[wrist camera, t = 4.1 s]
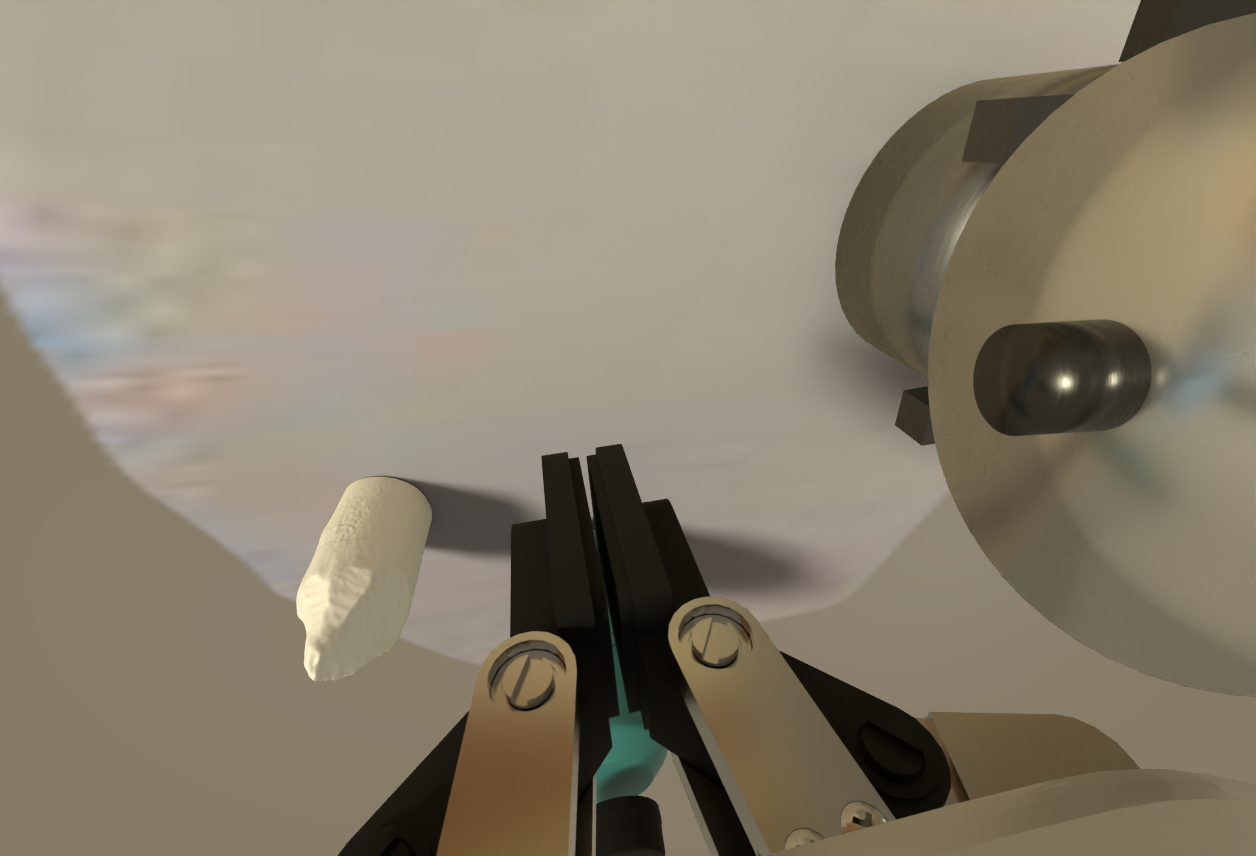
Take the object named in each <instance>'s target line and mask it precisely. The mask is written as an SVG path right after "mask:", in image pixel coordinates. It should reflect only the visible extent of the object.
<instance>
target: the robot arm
mask: <svg viewBox="0 0 1256 856" xmlns="http://www.w3.org/2000/svg"><path fill="white" fill-rule="evenodd" d="M587 464H588V473H589V482H590V490H591V499H592V507H593V516H594V524H595V533H596V541H597V547H596V542H595V537H594V532H593V527H592V522H591V517H590V512H589V507H588V502H587V497H586V492H585V487H584V481H583V476H582V471H581V466H580V461H579V457H577V458H570V459H569V458H568V453H567V452H564V453H557V454H551V455H544V456H542V469H543V481H544V494H545V506H546V518H547V519H543V520H537V521H531V522H526V523H520V524H514V525H512V530H511V622H510V638H509V639H507V640H505V641H503V642H502V643H501V644H500V645H499V646H497V647H496V648H495V649H494V650H492V652H491V653H490V654H489V656H488V657H487V658H486V660H485V661H484V662H483V664H482V666H481V669H480V672H479V674H478V676H477V680H476V684H475V689H474V693H473V697H472V702H471V706H470V710H469V711H468V712H467V714H466V715H465V716H464V717H463V718H462V719H461V720H460V721H459V722H458V723H457V724H456V725H455V727H454V728H453V729H452V730H451V731H450V732H449V733H448V734H447V735H446V737H444V739H443V740H442V741H441V742H440V743H439V744H438V745H437V746H436V747H435V748H434V749H433V750H432V752H431V753H430V754H429V755H428V756H427V757H426V758H425V759H424V760H423V761H422V762H421V764H420V765H419V766H418V767H417V768H416V769H415V770H414V771H413V772H412V773H411V774H410V775H409V777H408V778H407V779H406V780H405V781H404V782H403V783H402V784H401V785H400V786H399V787H398V788H397V790H396V791H395V792H394V793H393V794H392V795H391V796H390V797H389V798H388V799H387V800H386V802H385V803H384V804H383V805H382V806H381V807H380V808H379V809H378V810H377V811H376V812H375V813H374V815H373V816H372V817H371V818H370V819H369V820H368V821H367V822H366V823H365V824H364V825H363V826H362V828H361V829H360V830H359V831H358V832H357V833H356V834H355V835H354V836H353V838H351V839H350V841H349V842H348V843H347V844H346V846H345V847H344V848H343V849H342V851H341V852H340V853H339V855H338V856H596V775H595V773H596V772H597V770H598V769H599V767H600V766H601V764H602V763H603V761H604V760H605V758H606V756H607V755H608V753H609V752H610V750H611V749H612V747H613V746H612V738H611V731H610V723H609V718H612V717H616V716H620V712H619V703H618V694H617V685H616V676H615V667H614V658H613V649H612V640H611V631H610V622H609V614H610V619H611V624H612V629H613V635H614V640H615V645H616V650H617V655H618V660H619V665H620V670H621V675H622V680H623V685H624V690H625V696H626V701H627V706H628V710H629V714H630V713H634V712H639V711H640V713H641V717H642V722H643V726H644V730H647V729H649V734H650V738H651V739H653V740H654V741H656V742H657V743H659V744H660V745H662V746H663V747H665V748H666V749H668V750H669V751H671V754H672V758H673V762H674V765H675V767H676V770H677V772H678V775H679V777H680V780H681V782H682V785H683V787H684V790H685V792H686V795H687V797H688V800H689V802H690V804H691V807H692V810H693V812H694V815H695V817H696V820H697V822H698V825H699V827H700V830H701V832H702V835H703V837H704V840H705V842H706V844H707V847H708V849H709V852H710V854H711V856H1256V785H1254V784H1250V783H1246V782H1241V781H1237V780H1232V779H1228V778H1223V777H1219V776H1214V775H1209V774H1202V773H1194V772H1186V771H1178V770H1168V769H1140V768H1139V767H1138V766H1137V764H1136V763H1135V762H1134V760H1133V759H1132V758H1131V757H1130V756H1129V755H1128V754H1127V753H1126V752H1125V751H1124V750H1123V749H1122V748H1121V746H1120V745H1119V744H1118V743H1117V742H1115V741H1114V740H1113V739H1111V738H1110V737H1108V736H1107V735H1106V734H1104V733H1103V732H1101V731H1100V730H1099V729H1097V728H1096V727H1093V726H1091V725H1089V724H1087V723H1085V722H1083V721H1080V720H1078V719H1076V718H1072V717H1067V716H1061V715H1056V714H1011V713H962V712H961V713H960V712H929V714H928V716H927V718H914V717H912V716H910V715H909V714H907V713H905V712H904V711H902V710H901V709H899V708H897V707H895V706H893V705H891V704H889V703H887V702H884V701H882V700H880V699H878V698H876V697H874V696H872V695H870V694H868V693H866V692H864V691H862V690H860V689H858V688H856V687H853V686H851V685H849V684H847V683H845V682H843V681H841V680H839V679H837V678H835V677H833V676H831V675H828V674H827V673H824V672H822V671H820V670H818V669H816V668H814V667H812V666H810V665H808V664H806V663H804V662H802V661H800V660H798V659H795V658H793V657H791V656H789V655H787V654H785V653H783V652H781V651H779V650H778V649H777V648H776V646H775V645H774V643H773V642H772V641H771V639H770V638H769V636H768V635H767V633H766V632H765V631H764V629H763V628H762V626H761V625H760V623H759V622H758V620H757V619H756V618H755V617H754V616H753V615H752V614H751V613H750V612H749V611H748V609H746V608H744V607H743V606H741V605H740V604H738V603H736V602H734V601H731V600H728V599H725V598H722V597H710V595H709V593H708V590H707V588H706V585H705V583H704V581H703V578H702V576H701V574H700V571H699V569H698V566H697V564H696V562H695V559H694V557H693V555H692V552H691V550H690V547H689V545H688V543H687V540H686V538H685V536H684V533H683V531H682V528H681V526H680V524H679V521H678V519H677V517H676V514H675V512H674V510H673V507H672V505H671V503H670V501H669V500H668V499H662V500H656V501H650V502H644V503H642V502H641V499H640V496H639V493H638V490H637V487H636V484H635V481H634V478H633V475H632V472H631V470H630V467H629V464H628V461H627V458H626V455H625V452H624V449H623V446H622V444H617V445H610V446H604V447H597V448H596V455H590V456H587ZM597 550H598V553H597ZM598 557H599V558H598ZM606 599H607V600H606ZM607 604H608V606H607ZM608 609H609V614H608Z"/></svg>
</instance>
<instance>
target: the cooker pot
mask: <svg viewBox="0 0 1256 856" xmlns="http://www.w3.org/2000/svg"><path fill="white" fill-rule="evenodd" d="M1253 13H1256V0H1141V2H1140V4H1139V7H1138V10H1137V13H1136V15H1135V18H1134V21H1133V24H1132V27H1131V29H1130V32H1129V35H1128V38H1127V40H1126V43H1125V46H1124V49H1123V51H1122V54H1121V57H1120V60H1119V62H1125V61H1127V60H1128V59H1130V58H1132V57H1134V56H1136V55H1138V54H1140V53H1142V52H1144V51H1146V50H1148V49H1150V48H1152V47H1153V46H1155V45H1157V44H1159V43H1161V42H1164V41H1167V40H1169V39H1172V38H1175V37H1177V36H1180V35H1182V34H1185V33H1188V32H1190V31H1193V30H1195V29H1198V28H1201V27H1203V26H1206V25H1208V24H1212V23H1217V22H1221V21H1225V20H1229V19H1233V18H1237V17H1241V16H1245V15H1249V14H1253ZM1118 65H1119V64H1118ZM1116 66H1117V65H1109V66H1100V67H1092V68H1083V69H1074V70H1066V71H1057V72H1048V73H1040V74H1031V75H1022V76H1014V77H1005V78H996V79H990V80H983V81H978V82H975V83H971V84H968V85H965V86H962V87H960V88H957V89H955V90H953V91H951V92H949V93H947V94H945V95H943V96H941V97H940V98H938V99H936V100H935V101H933V102H932V103H930V104H929V105H927V106H925V107H924V108H923V109H922V110H920V111H919V112H918V113H917V114H915V115H914V116H913V117H912V118H910V119H909V120H908V121H907V122H906V123H905V124H904V125H903V126H902V127H901V128H900V129H899V130H898V131H897V132H896V133H895V134H894V135H893V136H892V137H891V138H890V139H889V141H888V142H887V143H886V144H885V145H884V147H883V148H882V149H881V150H880V151H879V153H878V154H877V156H876V157H875V159H874V160H873V161H872V163H871V164H870V166H869V167H868V169H867V170H866V172H865V174H864V175H863V177H862V179H861V181H860V183H859V185H858V186H857V188H856V190H855V192H854V194H853V197H852V199H851V201H850V204H849V206H848V208H847V211H846V214H845V217H844V220H843V224H842V227H841V230H840V235H839V240H838V245H837V253H836V264H835V269H836V285H837V292H838V297H839V300H840V303H841V307H842V310H843V312H844V314H845V316H846V318H847V320H848V322H849V323H850V325H851V326H852V327H853V329H854V330H855V331H856V333H857V334H859V335H860V336H861V337H862V338H863V339H864V340H865V341H866V342H868V343H869V344H871V345H873V346H874V347H876V348H877V349H879V350H881V351H883V352H884V353H886V354H888V355H889V356H891V357H893V358H894V359H896V360H898V361H899V362H901V363H903V364H905V365H906V366H908V367H910V368H911V369H913V370H915V371H916V372H918V373H920V374H921V375H923V376H925V377H927V378H928V358H929V343H930V336H931V329H932V322H933V317H934V312H935V308H936V303H937V299H938V294H939V291H940V288H941V284H942V281H943V278H944V275H945V271H946V268H947V266H948V263H949V261H950V258H951V256H952V253H953V251H954V248H955V245H956V243H957V241H958V239H959V237H960V235H961V233H962V231H963V229H964V227H965V225H966V223H967V221H968V218H969V217H970V215H971V213H972V212H973V210H974V208H975V207H976V205H977V203H978V202H979V200H980V198H981V196H982V195H983V193H984V192H985V190H986V189H987V187H988V186H989V184H990V183H991V182H992V180H993V179H994V177H995V176H996V175H997V173H998V172H999V170H1000V169H1001V168H1002V166H1003V165H1004V164H1005V163H1006V161H1007V160H1008V159H1009V158H1010V157H1011V156H1012V154H1013V153H1014V152H1015V151H1016V150H1017V148H1018V147H1019V146H1020V145H1021V144H1022V143H1023V141H1024V140H1025V139H1026V138H1027V137H1028V136H1029V135H1030V134H1031V133H1032V132H1033V131H1034V130H1035V129H1036V128H1037V127H1038V126H1039V125H1040V124H1041V123H1042V122H1043V121H1045V120H1046V119H1047V118H1048V117H1049V116H1050V115H1051V114H1052V113H1053V112H1054V111H1055V110H1057V109H1058V108H1059V107H1060V106H1062V105H1063V104H1064V103H1065V102H1066V101H1068V100H1069V99H1070V98H1071V97H1073V96H1074V95H1075V94H1076V93H1077V92H1079V91H1080V90H1081V89H1082V88H1084V87H1085V86H1087V85H1089V84H1090V83H1092V82H1093V81H1095V80H1096V79H1098V78H1099V77H1101V76H1102V75H1104V74H1105V73H1107V72H1108V71H1110V70H1111V69H1113V68H1114V67H1116ZM895 425H896V426H897V427H898V428H900V429H901V430H902V431H903V432H905V433H906V434H907V435H909V436H910V437H911V438H913V439H914V440H915V441H917V442H918V443H919V444H920V445H928V444H934V443H935V440H934V435H933V429H932V423H931V417H930V407H929V396H928V387H922V388H916V389H909V390H904V392H903V396H902V400H901V404H900V408H899V412H898V416H897V419H896V423H895Z"/></svg>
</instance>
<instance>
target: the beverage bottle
mask: <svg viewBox="0 0 1256 856" xmlns="http://www.w3.org/2000/svg"><path fill="white" fill-rule="evenodd" d="M593 532H594V537H595V542H596V547H597V541H596V533H595V529H593ZM597 553H598V550H597ZM598 558H599V557H598ZM606 600H607V599H606ZM607 606H608V604H607ZM608 614H609V609H608ZM609 622H610V631H611V640H612V649H613V658H614V667H615V676H616V685H617V694H618V703H619V712H620V716H616V717H612V718H609V723H610V731H611V738H612V746H613V747H612V749H611V750H610V752H609V753H608V755H607V756H606V758H605V760H604V761H603V763H602V764H601V766H600V767H599V769H598V770H597V772H596V773H595V775H596V856H665V848H664V841H663V835H662V828H661V824H662V823H661V815H660V811H659V806H658V804H657V803H656V802H655V801H654V800H652V799H650V798H648V797H643V796H638V795H639V794H641V793H642V792H643V791H645V790H646V789H647V788H648V786H649V785H650V784H651V783H652V781H653V780H654V778H655V776H656V775H657V773H658V771H659V770H660V768H661V766H662V764H663V763H664V760H665V758H666V755H667V750H668V749H666V748H665V747H663V746H662V745H660V744H659V743H657V742H656V741H654V740H653V739H651V738H650V734H649V729H647V730H644V726H643V722H642V717H641V713H640V711H639V712H634V713H630V714H629V710H628V706H627V701H626V696H625V690H624V685H623V680H622V675H621V670H620V665H619V660H618V655H617V650H616V645H615V640H614V635H613V629H612V624H611V619H610V614H609Z"/></svg>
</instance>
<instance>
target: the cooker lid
mask: <svg viewBox="0 0 1256 856" xmlns="http://www.w3.org/2000/svg"><path fill="white" fill-rule="evenodd" d="M928 396H929V407H930V417H931V423H932V429H933V435H934V440H935V444H936V448H937V452H938V456H939V460H940V464H941V467H942V470H943V473H944V476H945V479H946V482H947V485H948V487H949V489H950V492H951V494H952V496H953V499H954V501H955V503H956V506H957V508H958V510H959V512H960V514H961V516H962V517H963V519H964V521H965V523H966V525H967V527H968V529H969V531H970V532H971V534H972V535H973V537H974V538H975V540H976V542H977V543H978V545H979V546H980V547H981V549H982V551H983V552H984V554H985V555H986V556H987V558H988V559H989V560H990V561H991V563H992V564H993V565H994V567H995V568H996V569H997V570H998V572H999V573H1000V574H1001V575H1002V577H1003V578H1004V579H1005V580H1006V581H1007V582H1008V583H1009V584H1010V585H1011V586H1012V587H1013V588H1014V589H1015V591H1016V592H1017V593H1018V594H1019V595H1020V596H1021V597H1022V598H1023V599H1024V600H1025V601H1027V602H1028V603H1029V604H1030V605H1031V606H1032V607H1033V608H1034V609H1036V610H1037V611H1038V612H1039V613H1040V614H1041V615H1042V616H1044V617H1045V618H1046V619H1047V620H1049V621H1050V622H1051V623H1053V624H1054V625H1056V626H1057V627H1058V628H1060V629H1061V630H1063V631H1064V632H1065V633H1067V634H1068V635H1069V636H1071V637H1072V638H1074V639H1075V640H1077V641H1079V642H1081V643H1082V644H1084V645H1086V646H1088V647H1089V648H1091V649H1093V650H1094V651H1096V652H1098V653H1100V654H1101V655H1103V656H1105V657H1107V658H1109V659H1111V660H1114V661H1116V662H1118V663H1120V664H1123V665H1125V666H1127V667H1130V668H1132V669H1134V670H1137V671H1139V672H1141V673H1144V674H1146V675H1149V676H1153V677H1156V678H1159V679H1162V680H1166V681H1169V682H1172V683H1176V684H1179V685H1182V686H1185V687H1190V688H1195V689H1201V690H1206V691H1212V692H1217V693H1223V694H1228V695H1234V696H1249V697H1256V13H1253V14H1249V15H1245V16H1241V17H1237V18H1233V19H1229V20H1225V21H1221V22H1217V23H1212V24H1208V25H1206V26H1203V27H1201V28H1198V29H1195V30H1193V31H1190V32H1188V33H1185V34H1182V35H1180V36H1177V37H1175V38H1172V39H1169V40H1167V41H1164V42H1161V43H1159V44H1157V45H1155V46H1153V47H1152V48H1150V49H1148V50H1146V51H1144V52H1142V53H1140V54H1138V55H1136V56H1134V57H1132V58H1130V59H1128V60H1127V61H1125V62H1123V63H1121V64H1119V65H1117V66H1116V67H1114V68H1113V69H1111V70H1110V71H1108V72H1107V73H1105V74H1104V75H1102V76H1101V77H1099V78H1098V79H1096V80H1095V81H1093V82H1092V83H1090V84H1089V85H1087V86H1085V87H1084V88H1082V89H1081V90H1080V91H1079V92H1077V93H1076V94H1075V95H1074V96H1073V97H1071V98H1070V99H1069V100H1068V101H1066V102H1065V103H1064V104H1063V105H1062V106H1060V107H1059V108H1058V109H1057V110H1055V111H1054V112H1053V113H1052V114H1051V115H1050V116H1049V117H1048V118H1047V119H1046V120H1045V121H1043V122H1042V123H1041V124H1040V125H1039V126H1038V127H1037V128H1036V129H1035V130H1034V131H1033V132H1032V133H1031V134H1030V135H1029V136H1028V137H1027V138H1026V139H1025V140H1024V141H1023V143H1022V144H1021V145H1020V146H1019V147H1018V148H1017V150H1016V151H1015V152H1014V153H1013V154H1012V156H1011V157H1010V158H1009V159H1008V160H1007V161H1006V163H1005V164H1004V165H1003V166H1002V168H1001V169H1000V170H999V172H998V173H997V175H996V176H995V177H994V179H993V180H992V182H991V183H990V184H989V186H988V187H987V189H986V190H985V192H984V193H983V195H982V196H981V198H980V200H979V202H978V203H977V205H976V207H975V208H974V210H973V212H972V213H971V215H970V217H969V218H968V221H967V223H966V225H965V227H964V229H963V231H962V233H961V235H960V237H959V239H958V241H957V243H956V245H955V248H954V251H953V253H952V256H951V258H950V261H949V263H948V266H947V268H946V271H945V275H944V278H943V281H942V284H941V288H940V291H939V294H938V299H937V303H936V308H935V312H934V317H933V322H932V329H931V336H930V343H929V358H928Z"/></svg>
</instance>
